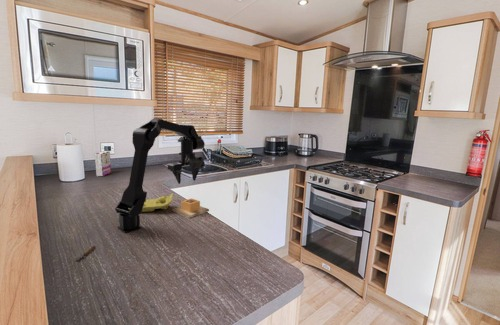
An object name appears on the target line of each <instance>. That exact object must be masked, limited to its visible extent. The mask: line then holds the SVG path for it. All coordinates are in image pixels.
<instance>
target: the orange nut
mask: <svg viewBox="0 0 500 325" xmlns="http://www.w3.org/2000/svg"><path fill="white" fill-rule="evenodd" d="M190 200H192V201H193V202H192V203H189V201H190ZM200 206H201V201H200V200H197V199H195V198H187V199H185V200H181V207H182V210H185V211H187V212H193V211H196V210H199V209H200Z"/></svg>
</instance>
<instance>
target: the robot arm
mask: <svg viewBox="0 0 500 325" xmlns="http://www.w3.org/2000/svg"><path fill="white" fill-rule="evenodd" d="M163 130H164V131H167V132H168V131H169V132H171V133H175V134H176V135H177V136H180V138H179V139H177V142H178V143H180V152H179V153H178V155H179V156H180V160H179V163H178V162H171V163H168V165H167V170H168V171H170V172H172V174H173V175H174V177H175V179H176V181H177V183H178V184H181V180H182V179H181V178H182V176H181V175H182V173H183V170H182V168H183V169H184V168H188V167H191V175H192V176H191V177H192V180H193V181H194V182H195V181H196V179H197V177H198V174H199V171H200V170H201V169H203V168H204V167H205V164H206V163H205V161H204V160H205V158H204V157H203V156H199V157H196V153H195V152H194V151H195V150H203V149H204V148H205V145H206V144H205V141H204V139H203V138H202V136H201V135H199V134H198V133H197V131H196V128H195V126H194V125H193V124H192V125H191V124H178V123H175V122H173V121H167V120H164V119H162V118H152V119H151V120H149V121H148V122H146V123H145V124H142V125H140V126H139V127H138V128H135V129H134V130H133V132H132V145H133V148H134V154H133V159H132V166H131V171H130V178H129V183H128V186H127V187H126V188H125V190H124V191H123V193H122V196H121V198H120V201H119V202H118V204H117V205H116V206H115V208H114V210H115V212H116V213H117V214H118V218H119V220H118V221H119V226H117V229H119V230H120V231H122V232H123V233H130V232H133V231H135V230H139V229H141V228H142V226H141V219H140V218H141V216H140V215H141V214H142V213H143V212H142V209H143V206H144V202H146V200H147V199H146V198H147V195H148V192H147V191H145V190H144V189H143V185H144V178H145V172H146V167H147V161H148V156H149V151H150V150H151V149H152V148H153V146H154V144H155V141H156V139H157V138H158V137H159V136H160V134H161V131H163ZM128 208H130V209H128Z"/></svg>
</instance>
